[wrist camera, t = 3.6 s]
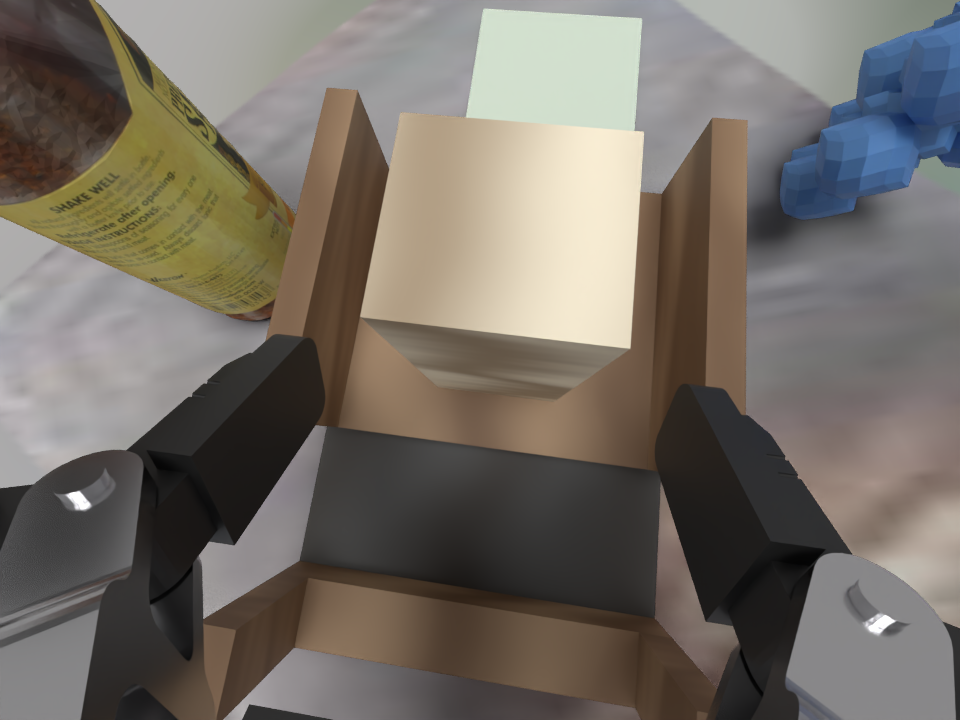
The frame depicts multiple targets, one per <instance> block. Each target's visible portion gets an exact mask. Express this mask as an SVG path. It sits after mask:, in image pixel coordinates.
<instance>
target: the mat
mask: <svg viewBox="0 0 960 720" xmlns="http://www.w3.org/2000/svg"><path fill="white" fill-rule="evenodd" d="M641 28H642V19H641V18H625V17H609V16H592V15H576V14H560V13H544V12H528V11H511V10H495V9H483V15H482V21H481V27H480V34H479V40H478V46H477V52H476V58H475V64H474V71H473V77H472V83H471V89H470V95H469V102H468V108H467V114H466V118H479V119H491V120H503V121H516V122H528V123H540V124H553V125H565V126H578V127H590V128H602V129H615V130H627V131H634V130H635V116H636V101H637V86H638V72H639V57H640V42H641Z"/></svg>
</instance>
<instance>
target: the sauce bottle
mask: <svg viewBox="0 0 960 720" xmlns="http://www.w3.org/2000/svg"><path fill="white" fill-rule="evenodd" d="M0 217H3V218H4V219H7V220H9V221H11V222H13V223H16V224H18V225H20V226H22V227H24V228H27V229H29V230H31V231H34V232H36V233H38V234H40V235H42V236H45V237H47V238H49V239H52V240H54V241H56V242H58V243H60V244H63V245H65V246H67V247H69V248H72V249H74V250H76V251H78V252H81V253H83V254H85V255H87V256H90V257H92V258H94V259H96V260H99V261H101V262H103V263H105V264H108V265H110V266H112V267H114V268H117V269H119V270H121V271H123V272H126V273H128V274H130V275H132V276H135V277H137V278H139V279H141V280H144V281H146V282H148V283H150V284H153V285H155V286H157V287H159V288H162V289H164V290H166V291H168V292H171V293H173V294H175V295H178V296H180V297H182V298H185V299H187V300H189V301H191V302H193V303H195V304H198V305H200V306H202V307H204V308H207V309H210V310H213V311H215V312H219V313H223V314H226V315H227V316H229V317H232V318H235V319H241V320H249V321H253V320H262V319H265V318H269V317H271V316H272V312H273V308H274V304H275V300H276V296H277V291H278V287H279V283H280V279H281V275H282V271H283V267H284V263H285V258H286V254H287V250H288V246H289V242H290V238H291V234H292V230H293V225H294V221H295V217H296V214H295V213H294V212H293V211H292V209H291V208H290V207H289V206H288V205H287V204H286V203H285V202H284V201H283V200H282V199H281V198H280V197H279V196H278V195H277V194H276V192H275V191H274V190H273V189H272V188H271V187H270V186H269V185H268V184H267V183H266V182H265V181H264V180H263V179H262V178H261V177H260V175H259V174H258V173H257V172H256V171H255V170H254V169H253V168H252V167H251V166H250V165H249V164H248V163H247V162H246V161H245V160H244V158H243V157H242V156H241V155H240V154H239V153H238V152H237V151H236V149H235V148H234V147H233V146H232V145H231V144H230V143H229V142H228V141H227V140H226V139H225V138H224V137H223V136H222V135H221V134H220V133H219V132H218V131H217V129H216V128H215V127H214V126H213V125H212V124H210V123H209V121H208V120H207V119H206V117H205V116H204V115H203V114H202V113H201V112H200V111H199V110H198V109H197V108H196V107H195V106H194V104H193V103H192V102H191V101H190V100H189V99H188V98H187V97H186V96H185V95H184V94H183V92H182V91H181V90H180V89H179V88H178V87H177V86H175V85H174V84H173V82H171V81H170V80H169V79H168V78H167V77H166V76H165V74H164V73H163V72H162V71H161V70H160V69H159V68H158V67H157V66H156V65H155V64H154V63H153V62H152V61H151V60H150V59H149V58H148V57H147V56H146V55H145V53H144V52H143V51H142V50H141V49H140V48H139V47H138V45H137V44H136V43H135V42H134V41H133V40H132V39H131V38H130V37H129V36H128V35H127V34H126V33H125V32H123V30H122V29H121V28H120V27H119V26H118V25H117V24H116V23H115V22H114V21H113V19H112V18H111V17H110V16H109V14H108V13H107V12H106V11H105V10H104V9H103V8H102V6H101V5H99V4H98V3H97V2H96V1H95V0H0Z"/></svg>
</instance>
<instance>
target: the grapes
mask: <svg viewBox="0 0 960 720" xmlns="http://www.w3.org/2000/svg"><path fill="white" fill-rule="evenodd" d="M934 156H938V158H939V159H940V160H941V162H942V163H943V164H944V165H945V166H947V167H955V168H960V1H959V2H957V3H956V4H955V7H954V10H953V13H952V14H950V15H948V16H946V17H943V18H940V19H938V20H936V21H934V25H933V26H932V27H929V28H926V29H924V30H921V31H916V32H910V33H908V34H905V35H903V36H900V37H898V38H895V39H892V40H890V41H887V42H885V43H882V44H880V45H878V46H875V47H872V48H870V49H867V50H865V51H864V54H863V58H862V62H861V66H860V70H859V78H858V89H857V97H856V99H854V100H851V101H848V102H845V103H842V104H839V105H836V106H834V107H832V111H831V116H830V120H829V127H828V128H825V129H822V130H821V135H820V139H819V143H816V144H812V145H808V146H805V147H802V148H799V149H796V150H793V151H792V156H791V161H790V162H786V163H784V167H783V172H782V178H781V186H780V203H781V206H782V208H783V211H784V213H785V214H788V215H790V216H792V217H795V218H798V219H801V220H807V219H815V218H823V217H828V216H834V215H838V214H842V213H846V212H850V211H854V207H855V204H856V201H857V197H862V196H869V195H875V194H881V193H885V192H889V191H893V190H897V189H901V188H905V187H908V185H909V183H910V180H911V177H912V174H913V171H914V169H915V168H918V166H919V162H920V159H927V158H930V157H934Z"/></svg>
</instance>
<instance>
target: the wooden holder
mask: <svg viewBox="0 0 960 720" xmlns="http://www.w3.org/2000/svg"><path fill="white" fill-rule="evenodd" d="M388 174H389V168H388V165H387V163H386V160H385V158H384V155H383V153H382V150H381V148H380V145H379V143H378V140H377V138H376V135H375V133H374V130H373V128H372V125H371V123H370V120H369V118H368V115H367V113H366V110H365V108H364V105H363V103H362V100H361V98H360V95H359V93H358V90H348V89H335V88H327V89H326V93H325V98H324V102H323V106H322V110H321V114H320V118H319V122H318V126H317V131H316V135H315V139H314V143H313V147H312V151H311V155H310V159H309V164H308V168H307V172H306V176H305V180H304V184H303V188H302V192H301V197H300V201H299V205H298V209H297V213H296V217H295V221H294V225H293V230H292V234H291V238H290V242H289V246H288V250H287V254H286V258H285V263H284V267H283V271H282V275H281V279H280V283H279V287H278V291H277V296H276V300H275V304H274V308H273V312H272V316H271V320H270V325H269V329H268V333H267V337H266V340H268V339H269V338H270V337H271V336H272V335H274V334H283V335H292V336H300V337H308V338H311V339H313V340H314V342H315V344H316V347H317V352H318V357H319V362H320V367H321V373H322V378H323V383H324V388H325V396H326V397H325V406H324V410H323V413H322V415H321V417H320V419H319V421H318V422H317V424H316V425H319V426H327V430H326V434H325V439H324V444H323V449H322V454H321V459H320V464H319V469H318V474H317V479H316V484H315V489H314V493H313V498H312V503H311V508H310V513H309V518H308V523H307V528H306V533H305V538H304V543H303V547H302V552H301V557H300V561H299V562H297V563H295V564H294V565H292V566H291V567H289V568H287V569H286V570H284V571H282V572H281V573H279V574H277V575H276V576H274V577H272V578H271V579H269V580H267V581H266V582H264V583H262V584H261V585H259V586H258V587H256V588H254V589H253V590H251V591H249V592H248V593H246V594H244V595H243V596H241V597H239V598H238V599H236V600H234V601H233V602H231V603H229V604H228V605H226V606H224V607H223V608H221V609H220V610H218V611H216V612H215V613H213V614H211V615H210V616H208V617H206V618H205V619H203V632H204V664H205V672H206V677H207V681H208V684H209V687H210V690H211V693H212V697H213V701H214V706H215V712H216V720H223V719H224V718H225V717H226V716H227V715H228V714H229V713H230V712H231V711H232V710H233V709H234V708H235V707H236V706H237V705H238V704H239V703H240V702H241V701H242V700H243V699H244V698H245V697H246V696H247V695H248V694H249V693H250V692H251V691H252V690H253V689H254V688H255V687H256V686H257V685H258V684H259V683H260V682H261V681H262V680H263V679H264V678H265V677H266V676H267V675H268V674H269V673H270V672H271V671H272V670H273V668H274V667H275V666H276V665H277V664H278V663H279V662H280V661H281V660H282V659H283V658H284V657H285V656H286V655H287V654H288V653H289V652H290V651H291V650H292V649H293V648H294V647H295V648H300V649H306V650H312V651H317V652H323V653H329V654H334V655H340V656H345V657H351V658H357V659H362V660H368V661H374V662H379V663H385V664H390V665H396V666H402V667H407V668H413V669H419V670H424V671H430V672H436V673H441V674H447V675H452V676H458V677H464V678H469V679H475V680H481V681H486V682H492V683H498V684H503V685H509V686H514V687H520V688H526V689H531V690H537V691H543V692H548V693H554V694H560V695H565V696H571V697H576V698H582V699H588V700H593V701H599V702H605V703H610V704H616V705H622V706H627V707H633V708H636V710H637V712H638V714H639V716H640V718H641V720H706V718H707V715H708V713H709V710H710V707H711V705H712V702H713V699H714V697H715V694H716V691H717V689H716V688H715V686H714V685H713V684H712V683H711V682H710V681H709V680H708V678H707V677H706V676H705V675H704V674H703V673H702V672H701V671H700V669H699V668H698V667H697V666H696V665H695V664H694V663H693V661H692V660H691V659H690V658H689V657H688V656H687V655H686V654H685V652H684V651H683V650H682V649H681V648H680V647H679V646H678V644H677V643H676V642H675V641H674V640H673V639H672V638H671V637H670V635H669V634H668V633H667V632H666V631H665V630H664V629H663V627H662V626H661V625H660V624H659V623H658V622H657V621H656V620H655V618H654V617H655V595H656V573H657V551H658V529H659V507H660V485H661V479H660V476H659V473H658V469H657V466H656V462H655V443H656V438H657V435H658V433H659V430H660V428H661V426H662V423H663V421H664V419H665V416H666V414H667V412H668V409H669V407H670V405H671V402H672V400H673V398H674V395H675V393H676V391H677V389H678V388H679V387H680V385H682V384H693V385H701V386H709V387H718V388H723V389H724V390H726V392H727V393H728V394H729V396H730V398H731V399H732V401H733V402H734V404H735V405H736V407H737V409H738V410H739V412H740V413H741V415H746V264H747V120H735V119H722V118H712V119H711V121H710V122H709V124H708V125H707V127H706V128H705V130H704V131H703V133H702V134H701V136H700V137H699V139H698V140H697V142H696V143H695V145H694V146H693V148H692V149H691V151H690V152H689V154H688V155H687V157H686V158H685V160H684V161H683V163H682V164H681V166H680V167H679V169H678V170H677V172H676V173H675V175H674V176H673V178H672V179H671V181H670V182H669V184H668V185H667V187H666V188H665V190H664V191H663V193H662V194H656V193H645V192H640V204H639V220H638V236H637V252H636V268H635V283H634V299H633V315H632V331H631V347H630V349H629V350H628V351H627V352H625V353H624V354H622V355H621V356H619V357H618V358H617V359H615V360H614V361H612V362H611V363H609V364H608V365H606V366H605V367H604V368H602V369H601V370H599V371H598V372H596V373H595V374H593V375H592V376H591V377H589V378H588V379H586V380H585V381H583V382H582V383H581V384H579V385H578V386H576V387H575V388H573V389H572V390H570V391H569V392H568V393H566V394H565V395H563V396H562V397H560V398H559V399H558V400H556V401H555V402H551V401H543V400H535V399H528V398H520V397H512V396H504V395H496V394H488V393H481V392H473V391H465V390H457V389H449V388H442V387H437V386H436V385H435V384H434V383H433V382H432V381H431V380H429V379H428V378H427V377H426V376H425V375H424V374H423V373H422V372H421V371H419V370H418V369H417V368H416V367H415V366H414V365H413V364H412V363H411V362H409V361H408V360H407V359H406V358H405V357H404V356H403V355H402V354H401V353H399V352H398V351H397V350H396V349H395V348H394V347H393V346H392V345H391V344H389V343H388V342H387V341H386V340H385V339H384V338H383V337H382V336H380V335H379V334H378V333H377V332H376V331H375V330H374V329H373V328H372V327H370V326H369V325H368V324H367V323H366V322H365V321H364V320H363V319H362V318H360V315H361V310H362V305H363V300H364V295H365V290H366V285H367V280H368V274H369V269H370V264H371V259H372V254H373V249H374V244H375V239H376V234H377V229H378V224H379V219H380V214H381V209H382V204H383V199H384V194H385V189H386V184H387V179H388Z"/></svg>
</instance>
